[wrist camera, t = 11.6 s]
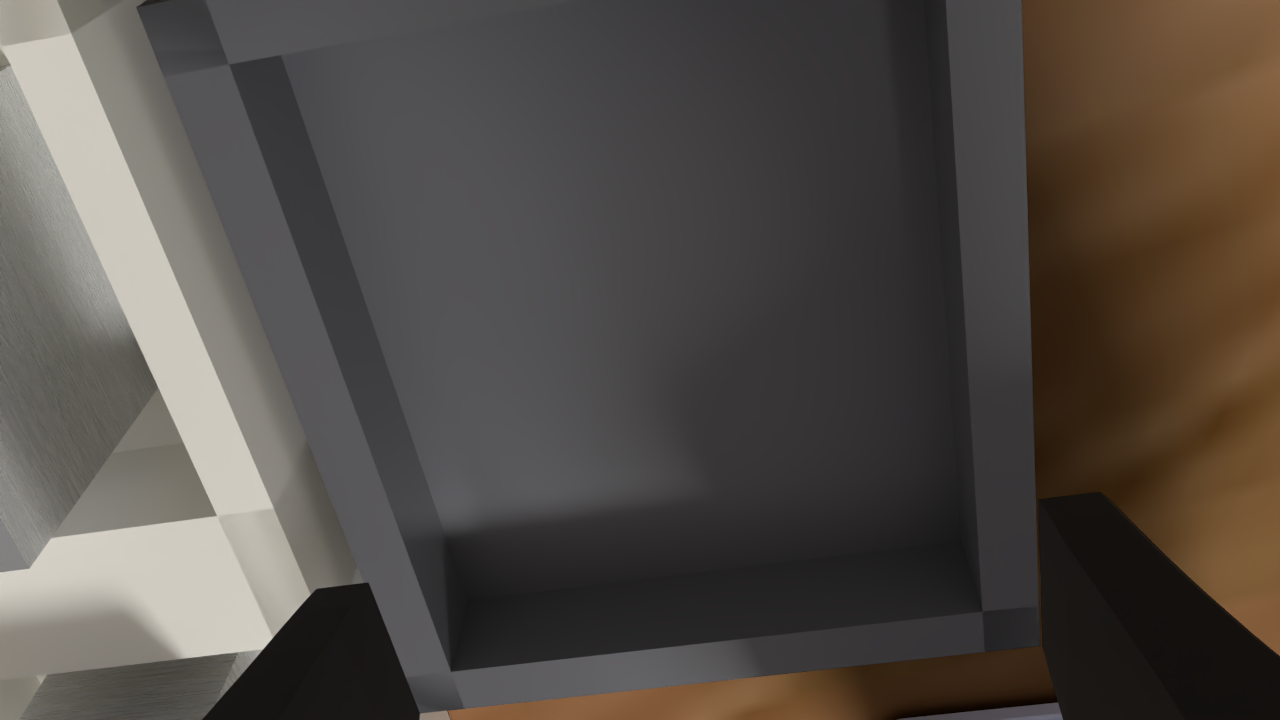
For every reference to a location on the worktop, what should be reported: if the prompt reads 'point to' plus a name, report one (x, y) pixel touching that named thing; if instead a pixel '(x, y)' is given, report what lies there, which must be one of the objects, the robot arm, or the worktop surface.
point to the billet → (53, 344)
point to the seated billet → (140, 690)
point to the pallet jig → (161, 391)
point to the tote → (641, 321)
